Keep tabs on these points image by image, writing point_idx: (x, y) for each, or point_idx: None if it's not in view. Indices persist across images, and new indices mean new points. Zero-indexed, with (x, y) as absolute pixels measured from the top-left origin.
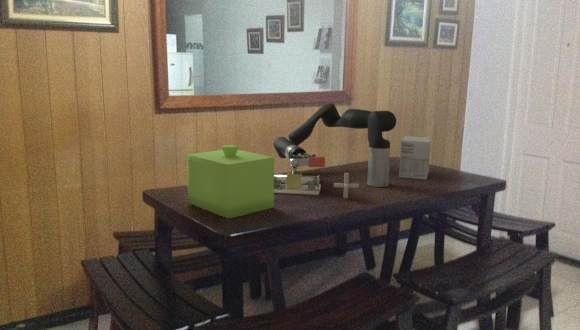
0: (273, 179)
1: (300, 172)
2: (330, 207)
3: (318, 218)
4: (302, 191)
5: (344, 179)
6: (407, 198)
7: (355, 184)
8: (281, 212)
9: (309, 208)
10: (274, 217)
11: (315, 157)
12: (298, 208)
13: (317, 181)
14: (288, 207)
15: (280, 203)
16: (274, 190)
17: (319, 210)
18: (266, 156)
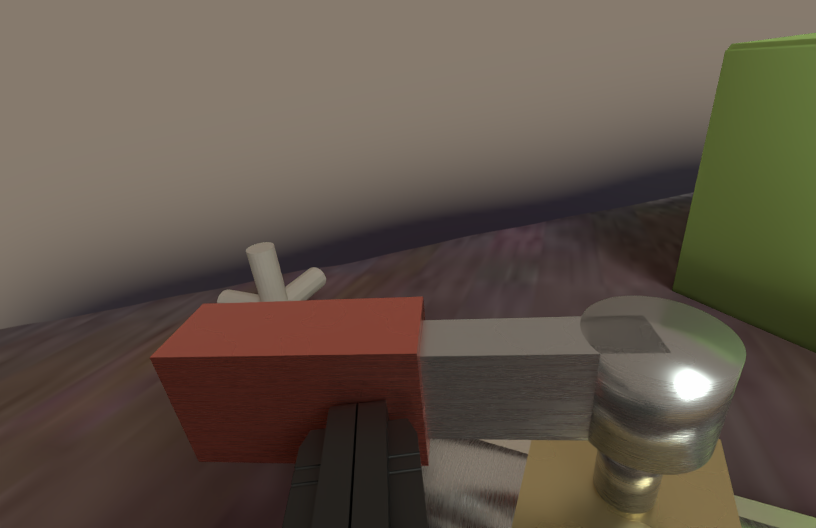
0: (701, 166)
1: (536, 501)
2: (432, 280)
3: (501, 230)
4: (522, 440)
5: (281, 277)
6: (71, 329)
7: (241, 292)
8: (624, 258)
9: (515, 277)
10: (640, 235)
11: (312, 320)
12: (559, 279)
13: None
14: (603, 288)
15: None
16: (800, 520)
17: (482, 264)
18: (791, 39)
